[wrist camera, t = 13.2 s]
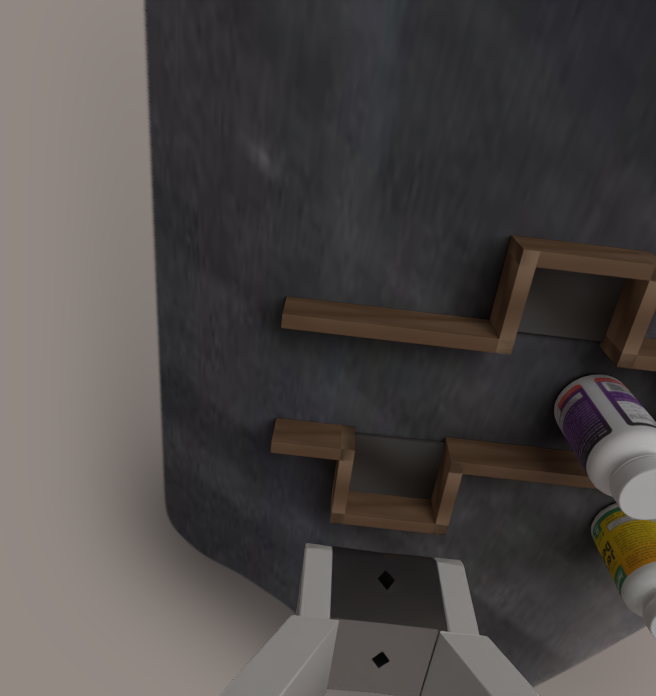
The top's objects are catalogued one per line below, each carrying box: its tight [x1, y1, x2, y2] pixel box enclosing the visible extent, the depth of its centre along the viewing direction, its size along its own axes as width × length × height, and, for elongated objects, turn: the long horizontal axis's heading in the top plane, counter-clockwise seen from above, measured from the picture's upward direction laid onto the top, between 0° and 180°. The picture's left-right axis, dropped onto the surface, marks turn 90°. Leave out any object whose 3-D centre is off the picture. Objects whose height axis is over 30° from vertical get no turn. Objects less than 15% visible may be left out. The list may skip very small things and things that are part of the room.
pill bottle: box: [554, 374, 656, 520], centre depth 39 cm, size 5×5×10 cm
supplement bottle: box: [591, 503, 656, 638], centre depth 44 cm, size 5×5×10 cm
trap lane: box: [271, 235, 656, 535], centre depth 42 cm, size 23×30×3 cm
